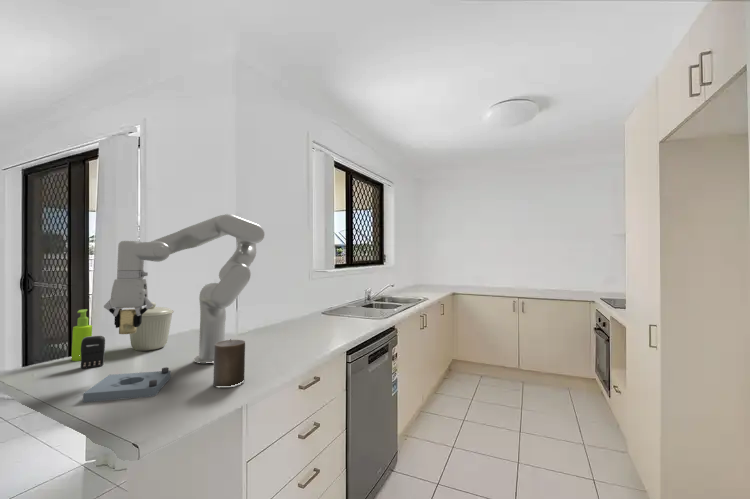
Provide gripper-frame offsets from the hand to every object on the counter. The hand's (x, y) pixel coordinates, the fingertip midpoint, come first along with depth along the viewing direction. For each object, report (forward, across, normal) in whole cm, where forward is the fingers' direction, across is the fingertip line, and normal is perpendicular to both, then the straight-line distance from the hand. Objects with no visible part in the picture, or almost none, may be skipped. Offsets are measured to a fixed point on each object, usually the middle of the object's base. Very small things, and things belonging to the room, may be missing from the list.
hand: (128, 326), depth 117 cm
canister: (+18, +5, -38) cm, 42 cm away
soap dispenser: (+18, +25, -25) cm, 39 cm away
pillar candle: (+18, -36, +15) cm, 43 cm away
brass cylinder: (+2, 0, 0) cm, 2 cm away
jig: (+17, -7, +14) cm, 23 cm away
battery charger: (+18, +16, -13) cm, 27 cm away
